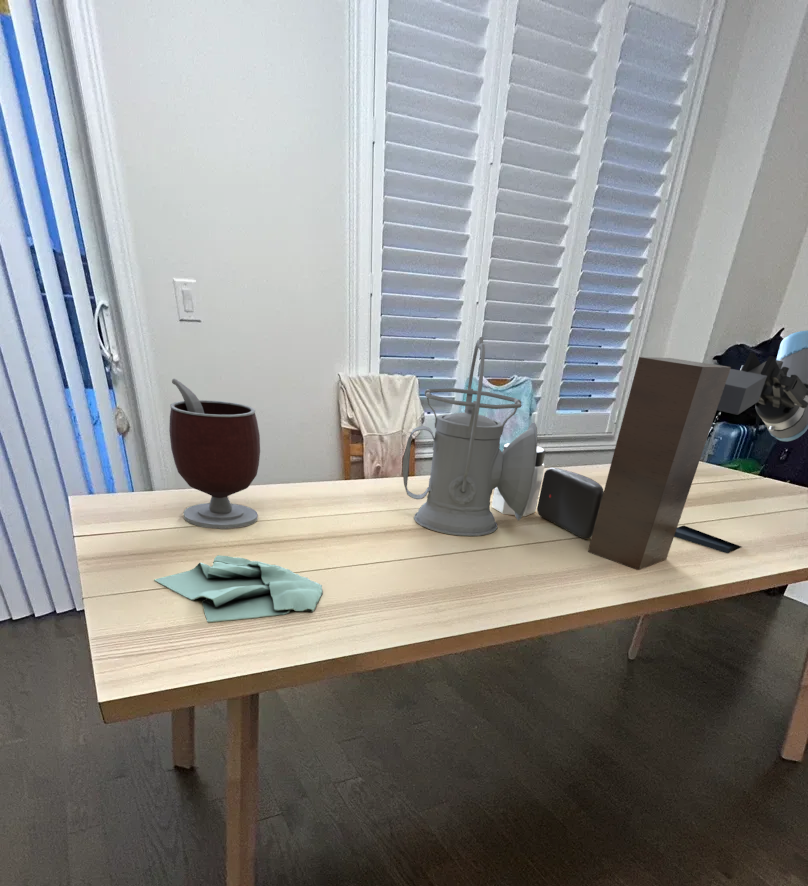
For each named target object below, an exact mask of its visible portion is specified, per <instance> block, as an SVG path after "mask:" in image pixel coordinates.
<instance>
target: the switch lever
mask: <svg viewBox="0 0 808 886" xmlns="http://www.w3.org/2000/svg"><path fill="white" fill-rule="evenodd" d="M775 360H776V359H775ZM776 362H777V365H778V367H779V369H781V367H782V364H783V361H778V360H776ZM765 363H766V361H764V362H762V363H760V364H761V365H759V366H757V367H755V368H754V369H752V370H750V371H748V372H745V371H740V369H734V368H731V369H730V372H729V375H728V378H727V381H726V384H725V387H724V390H723V393H722V396H721V399H720V402H719V404H718V407H717V410H716V411H719V412H724V413H729V414H732V415H740V414H741V413H743V412H745V411H746V410H747V409H749V408H750V407H752V406H755V403H757V402H758V401H759V398H760V395H761V392H762V389H763V386H764V385H765V384H766V382H765V381H766V378H767V376H766V375H761V371H762V369H763V367H764V365H765Z"/></svg>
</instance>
